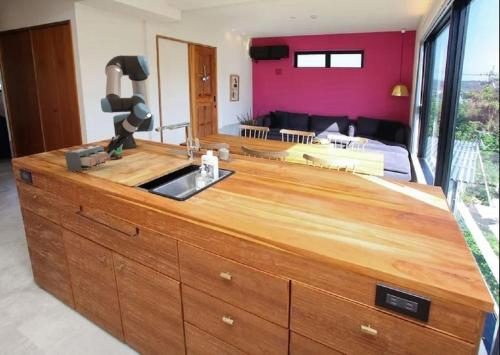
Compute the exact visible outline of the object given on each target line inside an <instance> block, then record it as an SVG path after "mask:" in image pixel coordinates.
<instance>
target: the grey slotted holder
mask: <svg viewBox="0 0 500 355" xmlns="http://www.w3.org/2000/svg"><path fill="white" fill-rule="evenodd" d="M97 152H105V150H104V145H97V144H95V145H94V144H93V145H86V146H81V147H79V148H75V149H71V150H68V151H64V156H65V161H66V168H67V171H69V172H80V171H81V172H83V169H82V168H90V169H91V168H92V166H85V165H81V162H80V158H81V157H89V155H91V154H96V155H98V153H97ZM100 164H106V159H104V162H101V163H96V165H93V167H98V166H100ZM97 165H98V166H97Z"/></svg>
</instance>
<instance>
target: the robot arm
mask: <svg viewBox="0 0 500 355" xmlns="http://www.w3.org/2000/svg"><path fill="white" fill-rule="evenodd" d="M104 69H105V70H104V74H105V75H106V84H105V86H106V87H105V97H103V98H101V99H100V108H101V111H102V112H103V113H110V114H111V113H112V114H113V113H121V114H115V115H114V116H113V117H112V118H113V129H114V135H115V136H112V137H111V140H110V142H109V143H108V144H109V145H108V144H107V150H106V151H105V152H106V153H105V154H104V156H105V157H106V158H107V159H109V158H110V156H111V155H112V153H113V152H114V151H115V150H116V151H117V148H119V147H120V146H121V145H122V144H123V146H122V150H131V149H135V148H137V147H138V146H137V142H136V140H135V137H134V133H140V132H141V133H142V132H143V133H145V132H153V130H154V127H155V126H154V124H155V123H154V121H155V120H154V114H152V112H151V111H150V108H149V103H148V102H149V100H148V93H147V82H146V80H148V79H149V78H148V77H149V76H150V73H151V71H150V67H149V63H148V59H147V57H146V56H145V55H121V54H120V55H116V56H114V57H112V58H110V60H108V62H107V63H106V66H105V68H104ZM123 76H126V77H127V76H128V79H129V80H130V81H131V86H132V87H131V89H132V94H133V95H131V97H122V96H121V94H122V91H121V90H122V85H121V84H122V82H121V81H122V80H121V79H122V77H123Z"/></svg>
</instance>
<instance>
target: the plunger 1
mask: <svg viewBox="0 0 500 355" xmlns="http://www.w3.org/2000/svg"><path fill="white" fill-rule="evenodd" d="M80 162H81V165H85V166H91V167H92V166H93V165H96V160H95V158H92V157H81V158H80ZM93 167H94V166H93Z"/></svg>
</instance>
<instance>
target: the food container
mask: <svg viewBox="0 0 500 355" xmlns="http://www.w3.org/2000/svg"><path fill="white" fill-rule="evenodd" d="M108 145H109V143H107V146H108ZM122 146H123V144H122V145H121V146H120V147H119V148H117V151H116V150H115V151H114V152H113V153H112V155H111V156H110V157H109V158H110V161H118V160H122V159H123V149H122Z"/></svg>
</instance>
